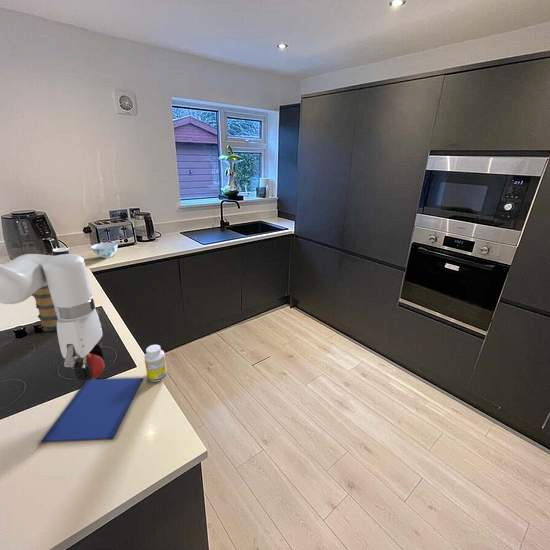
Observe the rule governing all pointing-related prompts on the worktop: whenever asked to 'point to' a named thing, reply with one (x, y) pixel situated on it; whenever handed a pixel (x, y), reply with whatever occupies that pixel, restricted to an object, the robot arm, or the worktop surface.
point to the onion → (95, 365)
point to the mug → (46, 309)
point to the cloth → (95, 410)
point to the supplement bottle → (155, 363)
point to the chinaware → (105, 249)
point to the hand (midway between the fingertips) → (91, 369)
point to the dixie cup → (60, 251)
